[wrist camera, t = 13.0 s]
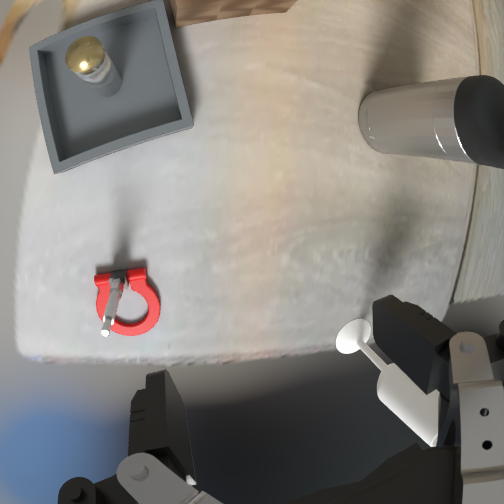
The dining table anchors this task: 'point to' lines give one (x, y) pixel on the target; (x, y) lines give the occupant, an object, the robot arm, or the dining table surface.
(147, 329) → the tow hook
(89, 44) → the pin
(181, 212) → the dining table surface
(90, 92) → the tray
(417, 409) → the champagne flute
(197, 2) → the block
